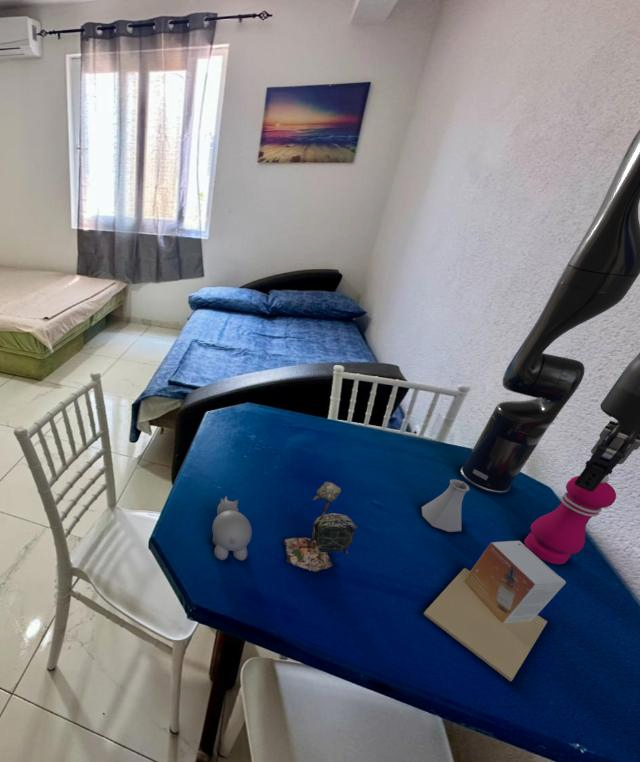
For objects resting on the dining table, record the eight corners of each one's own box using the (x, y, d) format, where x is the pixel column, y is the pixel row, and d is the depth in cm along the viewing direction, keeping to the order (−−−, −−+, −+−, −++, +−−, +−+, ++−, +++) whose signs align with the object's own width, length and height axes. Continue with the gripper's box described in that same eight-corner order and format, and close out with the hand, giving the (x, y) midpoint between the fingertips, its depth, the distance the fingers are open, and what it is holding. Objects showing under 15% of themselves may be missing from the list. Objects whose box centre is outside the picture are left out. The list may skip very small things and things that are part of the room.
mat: (463, 569, 76) (464, 567, 76) (545, 623, 68) (547, 621, 67) (422, 614, 68) (424, 612, 68) (510, 681, 60) (512, 679, 59)
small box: (462, 580, 74) (489, 540, 69) (490, 578, 74) (519, 539, 69) (502, 625, 67) (535, 584, 62) (533, 622, 67) (568, 581, 62)
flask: (467, 536, 83) (490, 500, 79) (429, 529, 85) (448, 494, 80) (450, 510, 90) (470, 475, 85) (415, 504, 91) (432, 470, 86)
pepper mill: (556, 542, 83) (616, 466, 73) (577, 571, 77) (645, 493, 67) (514, 532, 85) (566, 456, 75) (531, 560, 79) (591, 482, 69)
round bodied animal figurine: (240, 517, 86) (247, 486, 82) (249, 566, 76) (258, 534, 72) (206, 513, 87) (211, 483, 83) (210, 562, 76) (216, 530, 72)
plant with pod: (347, 585, 73) (384, 503, 63) (281, 564, 76) (307, 484, 67) (343, 549, 80) (376, 471, 70) (282, 532, 83) (306, 455, 73)
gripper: (692, 417, 50) (607, 518, 58) (706, 389, 56) (629, 483, 65) (606, 391, 55) (540, 486, 63) (628, 368, 62) (566, 457, 70)
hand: (585, 484), depth 64 cm, fingers closed
